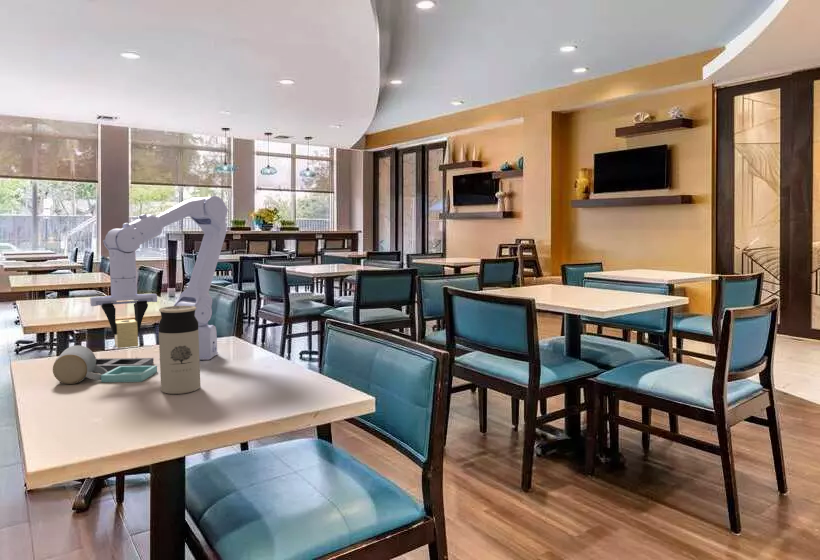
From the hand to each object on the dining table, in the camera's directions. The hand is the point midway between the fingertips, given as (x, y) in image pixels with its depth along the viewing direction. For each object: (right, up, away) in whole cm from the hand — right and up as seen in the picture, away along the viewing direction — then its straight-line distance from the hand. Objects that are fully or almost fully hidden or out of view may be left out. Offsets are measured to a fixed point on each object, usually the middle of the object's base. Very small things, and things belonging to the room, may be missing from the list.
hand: (126, 333), depth 142 cm
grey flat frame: (-6, -9, +4) cm, 12 cm away
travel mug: (+20, -11, -16) cm, 28 cm away
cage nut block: (0, -3, 0) cm, 3 cm away
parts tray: (+3, -10, -5) cm, 12 cm away
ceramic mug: (-7, -11, -7) cm, 14 cm away
